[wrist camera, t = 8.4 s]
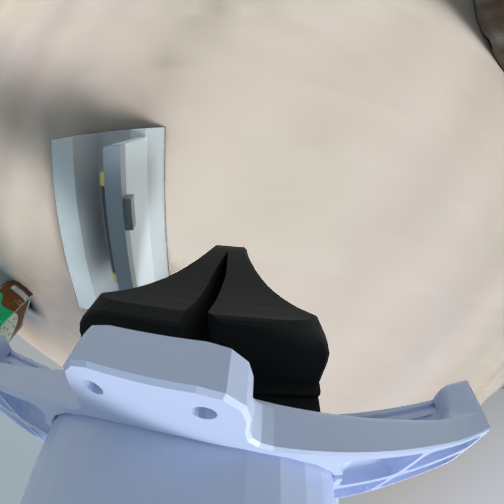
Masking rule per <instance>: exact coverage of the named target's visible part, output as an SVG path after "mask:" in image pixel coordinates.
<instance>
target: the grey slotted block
mask: <svg viewBox="0 0 504 504" xmlns="http://www.w3.org/2000/svg"><path fill="white" fill-rule="evenodd" d="M165 128H166V127H157V128H139V129H126V130H115V131H106V132H98V133H90V134H83V135H76V136H70V137H65V138H59V139H54V140H51V153H52V171H53V182H54V192H55V200H56V208H57V214H58V221H59V226H60V232H61V237H62V242H63V247H64V252H65V256H66V260H67V264H68V268H69V272H70V276H71V280H72V283H73V287H74V290H75V294H76V297H77V300H78V303H79V306H80V308H84V309H89V308H90V307H91V305H92V304H93V303H94V301H95V300H96V299H97V298H98V296H99V295H100V294H101V293H105V292H113V291H119V288H118V284H117V283H115V281H114V279H113V275H112V266H111V261H110V255H109V249H108V242H107V235H106V228H105V220H104V211H103V201H102V189H101V185H100V172H102V171H104V170H103V147H105V146H108V145H112V144H115V143H119V142H122V141H126V140H129V139H133V138H137V137H148V142H147V173H148V204H149V222H150V236H151V248H152V258H153V267H154V276H155V281H158V280H161V279H163V278H166V277H168V276H169V266H168V253H167V237H166V215H165Z"/></svg>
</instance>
